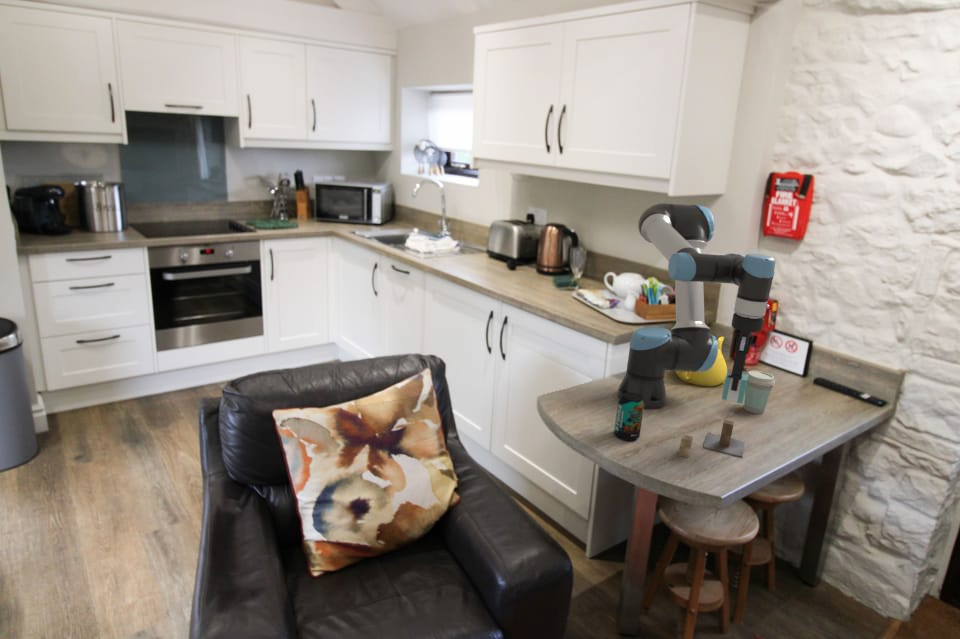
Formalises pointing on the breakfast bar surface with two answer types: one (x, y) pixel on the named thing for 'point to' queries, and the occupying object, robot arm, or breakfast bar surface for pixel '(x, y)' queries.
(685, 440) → the oak stub
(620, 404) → the beverage can
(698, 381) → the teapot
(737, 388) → the robot arm
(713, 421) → the breakfast bar surface
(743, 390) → the teal rectangular block
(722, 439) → the grey square base stand
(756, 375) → the coffee cup
